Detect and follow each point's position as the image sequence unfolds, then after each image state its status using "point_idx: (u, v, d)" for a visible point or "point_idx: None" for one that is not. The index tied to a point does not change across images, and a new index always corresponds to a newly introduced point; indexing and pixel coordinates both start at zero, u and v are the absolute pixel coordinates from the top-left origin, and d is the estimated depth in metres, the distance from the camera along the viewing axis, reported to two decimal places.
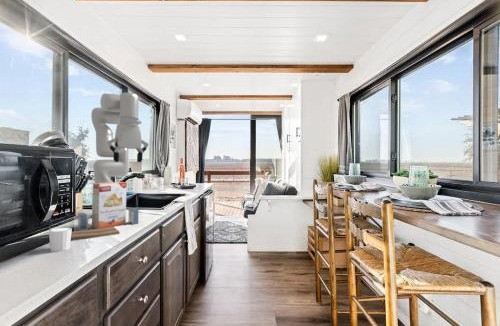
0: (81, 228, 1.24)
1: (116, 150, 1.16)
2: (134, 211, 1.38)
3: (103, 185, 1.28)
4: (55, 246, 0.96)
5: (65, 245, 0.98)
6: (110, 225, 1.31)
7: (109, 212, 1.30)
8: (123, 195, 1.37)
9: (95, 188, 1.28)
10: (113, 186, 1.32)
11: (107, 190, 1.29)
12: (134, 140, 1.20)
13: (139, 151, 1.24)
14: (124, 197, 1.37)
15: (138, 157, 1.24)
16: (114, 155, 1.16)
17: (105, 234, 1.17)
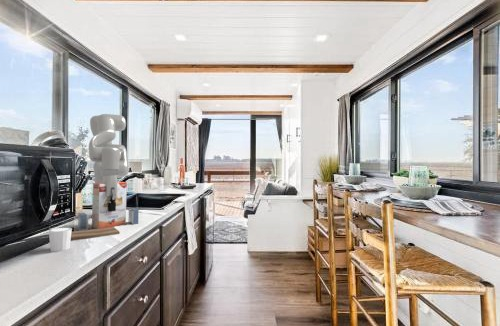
0: (81, 228, 1.24)
1: None
2: (134, 211, 1.38)
3: (103, 185, 1.28)
4: (55, 246, 0.96)
5: (65, 245, 0.98)
6: (110, 225, 1.31)
7: (109, 212, 1.30)
8: (123, 195, 1.36)
9: (95, 188, 1.28)
10: None
11: None
12: None
13: None
14: (124, 197, 1.37)
15: None
16: (113, 205, 1.30)
17: (105, 234, 1.17)
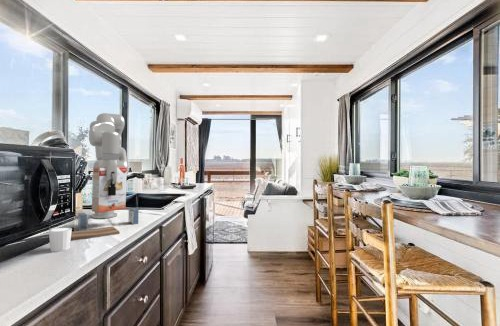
0: (81, 228, 1.24)
1: None
2: (134, 211, 1.38)
3: (103, 169, 1.28)
4: (55, 246, 0.96)
5: (65, 245, 0.98)
6: (110, 209, 1.32)
7: (109, 197, 1.31)
8: (123, 180, 1.37)
9: (95, 172, 1.28)
10: None
11: None
12: None
13: None
14: (124, 182, 1.37)
15: None
16: (113, 189, 1.30)
17: (105, 234, 1.17)
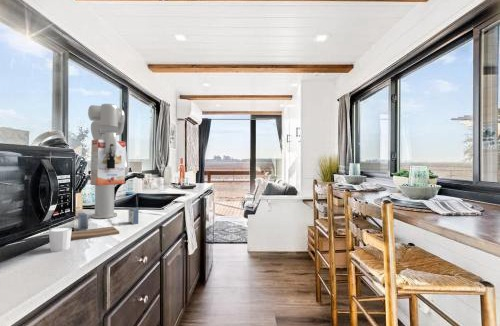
0: (81, 228, 1.24)
1: None
2: (134, 211, 1.38)
3: (102, 141, 1.26)
4: (55, 246, 0.96)
5: (65, 245, 0.98)
6: (109, 183, 1.29)
7: (108, 170, 1.28)
8: (122, 154, 1.35)
9: (93, 144, 1.26)
10: None
11: None
12: None
13: None
14: (123, 156, 1.35)
15: None
16: (112, 162, 1.28)
17: (105, 234, 1.17)
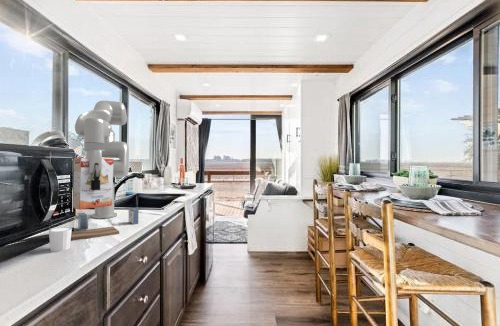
0: (81, 228, 1.24)
1: (99, 178, 1.16)
2: (134, 211, 1.38)
3: (85, 160, 1.12)
4: (55, 246, 0.96)
5: (65, 245, 0.98)
6: (94, 206, 1.16)
7: (92, 191, 1.15)
8: (110, 173, 1.21)
9: (76, 163, 1.13)
10: None
11: None
12: None
13: None
14: (110, 175, 1.22)
15: None
16: (97, 183, 1.15)
17: (105, 234, 1.17)
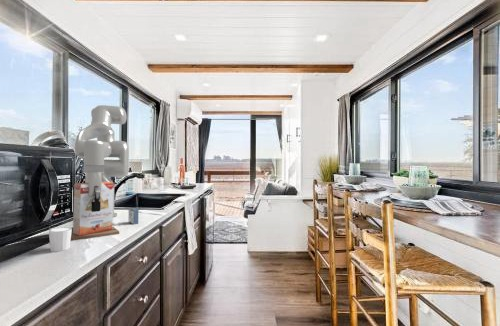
0: None
1: (99, 199, 1.15)
2: (134, 211, 1.38)
3: (85, 186, 1.13)
4: (55, 246, 0.96)
5: (65, 245, 0.98)
6: (94, 231, 1.16)
7: (92, 217, 1.15)
8: (110, 197, 1.21)
9: (76, 189, 1.13)
10: None
11: None
12: None
13: None
14: (111, 199, 1.22)
15: None
16: (97, 205, 1.14)
17: (105, 234, 1.17)
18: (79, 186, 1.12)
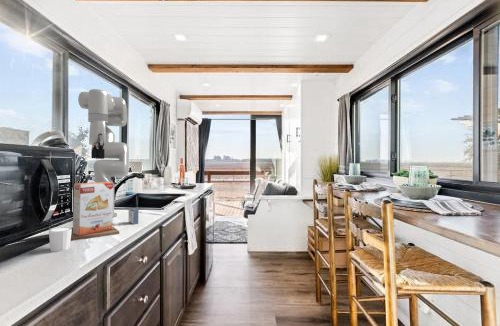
0: None
1: (103, 147, 1.17)
2: (134, 211, 1.38)
3: (85, 186, 1.13)
4: (55, 246, 0.96)
5: (65, 245, 0.98)
6: (94, 231, 1.16)
7: (92, 217, 1.15)
8: (110, 197, 1.21)
9: (76, 189, 1.13)
10: (97, 187, 1.17)
11: (90, 192, 1.14)
12: None
13: (95, 147, 1.24)
14: (110, 199, 1.22)
15: (95, 153, 1.24)
16: (101, 152, 1.16)
17: (105, 234, 1.17)
18: (79, 186, 1.12)
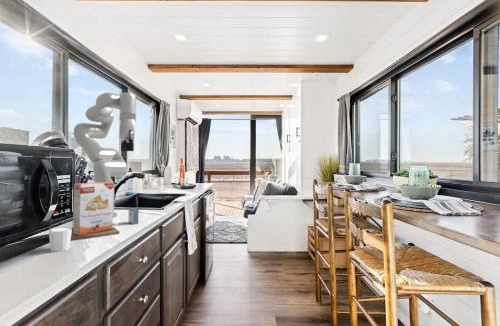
0: None
1: None
2: (134, 211, 1.38)
3: (85, 186, 1.13)
4: (55, 246, 0.96)
5: (65, 245, 0.98)
6: (94, 231, 1.16)
7: (92, 217, 1.15)
8: (110, 197, 1.21)
9: (76, 189, 1.13)
10: (97, 187, 1.17)
11: (90, 192, 1.14)
12: None
13: (124, 142, 1.46)
14: (110, 199, 1.22)
15: (124, 147, 1.46)
16: (131, 145, 1.39)
17: (105, 234, 1.17)
18: (79, 186, 1.12)
